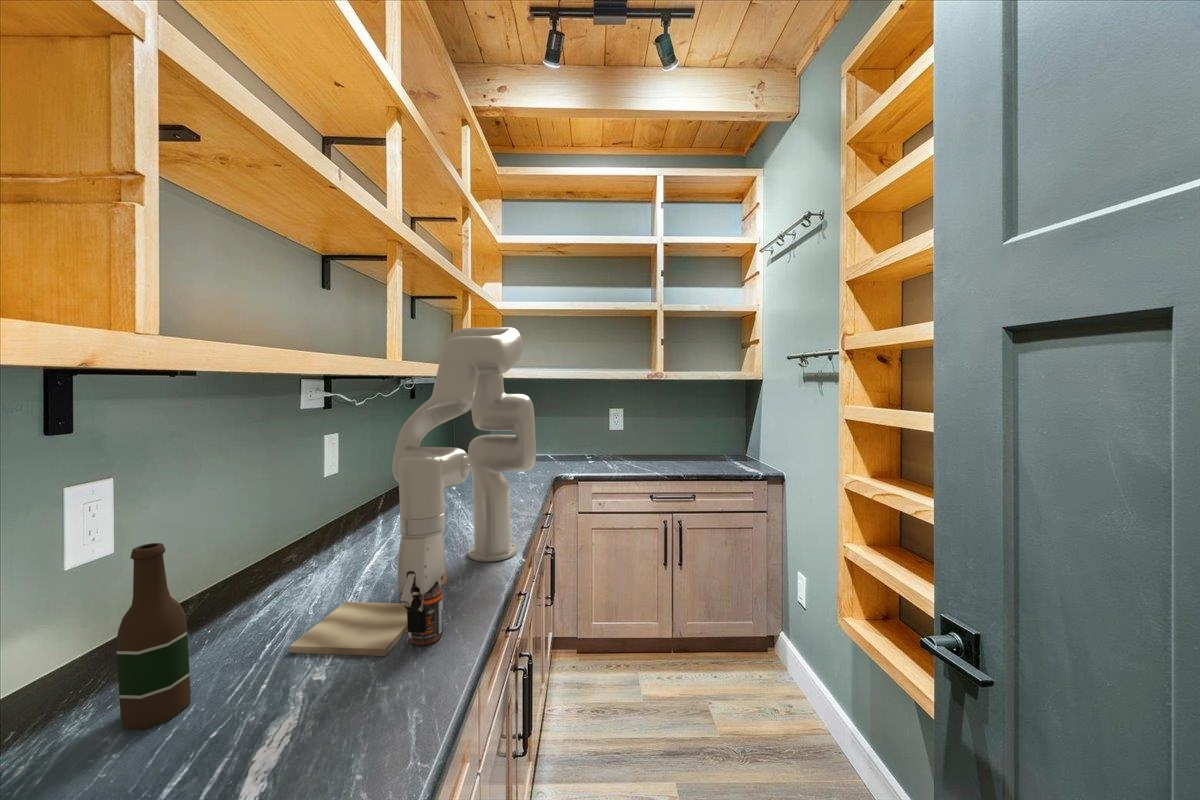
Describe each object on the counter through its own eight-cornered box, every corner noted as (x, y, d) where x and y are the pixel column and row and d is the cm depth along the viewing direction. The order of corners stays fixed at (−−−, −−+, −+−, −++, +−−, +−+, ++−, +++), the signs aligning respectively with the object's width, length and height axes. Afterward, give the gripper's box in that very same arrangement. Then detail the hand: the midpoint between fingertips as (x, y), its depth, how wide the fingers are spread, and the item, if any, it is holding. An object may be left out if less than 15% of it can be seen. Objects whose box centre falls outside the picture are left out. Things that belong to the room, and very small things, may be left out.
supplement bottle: (406, 649, 83) (404, 585, 83) (410, 631, 89) (408, 572, 89) (442, 644, 85) (441, 581, 84) (444, 627, 91) (442, 568, 90)
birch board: (345, 607, 99) (345, 601, 99) (426, 609, 97) (425, 604, 97) (289, 652, 83) (289, 645, 83) (385, 656, 82) (385, 649, 81)
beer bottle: (178, 723, 66) (168, 552, 65) (105, 738, 63) (93, 560, 62) (203, 688, 73) (194, 534, 72) (138, 700, 71) (128, 540, 69)
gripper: (423, 509, 95) (426, 599, 96) (376, 539, 78) (380, 648, 79) (460, 510, 94) (462, 600, 95) (422, 540, 77) (425, 649, 78)
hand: (425, 620), depth 87 cm, fingers closed on supplement bottle, 6 cm apart
